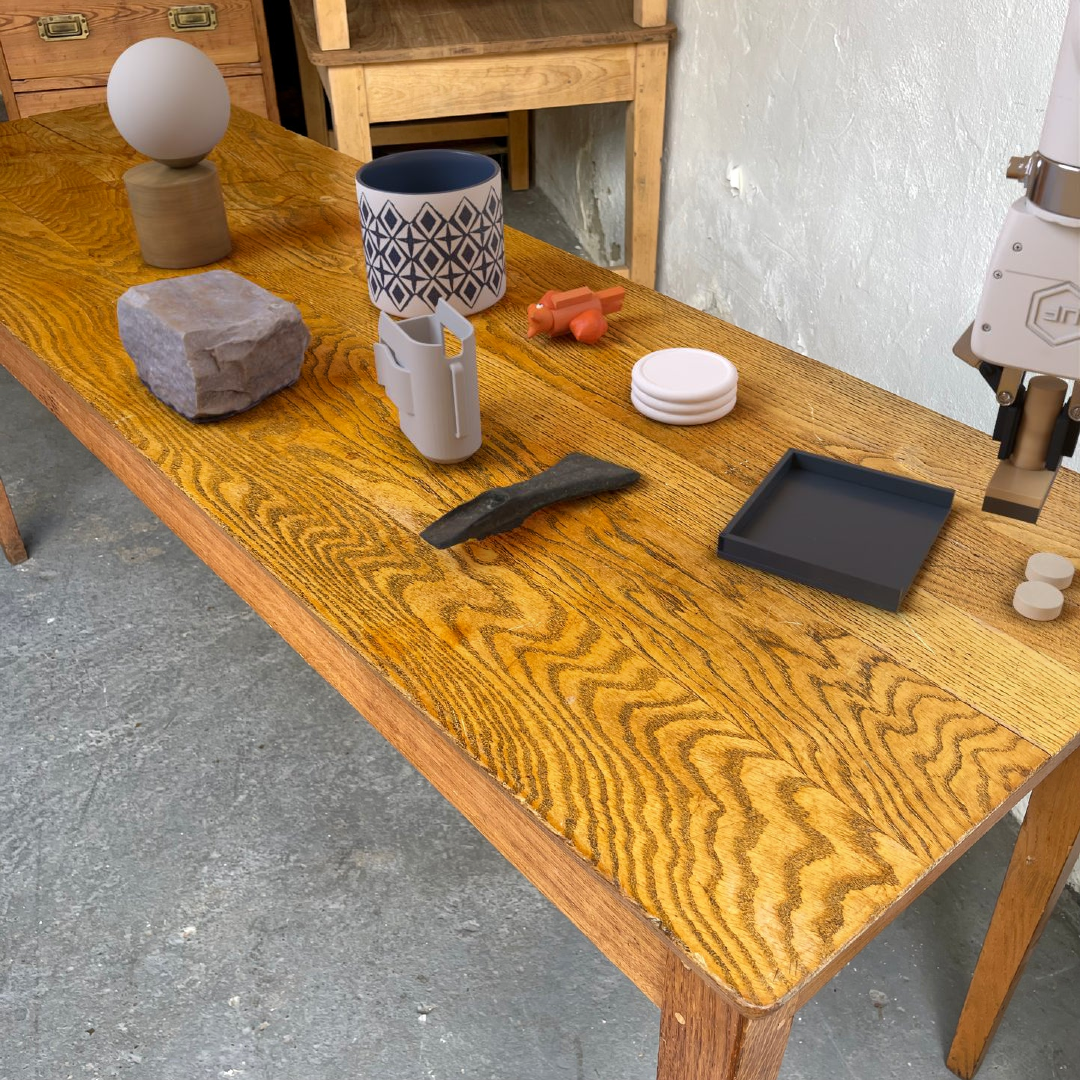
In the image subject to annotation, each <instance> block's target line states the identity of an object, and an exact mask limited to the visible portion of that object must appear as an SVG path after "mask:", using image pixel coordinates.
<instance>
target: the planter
mask: <svg viewBox="0 0 1080 1080" xmlns="http://www.w3.org/2000/svg"><path fill="white" fill-rule="evenodd" d="M354 179H355V187H356V188H355V189H356V198H357V206H358V215H359V223H360V231H361V239H362V247H363V256H364V261H365V262H364V264H365V271H366V279H367V286H368V293H369V299H370V301H371V302H372V304H373V306H375V307H376V308H378V310H380V311H384V312H385V313H386V314H389V315H391V316H394V317H398V318H401V319H405V320H406V319H410V318H414V317H419V316H423V315H433V314H435V312H436V308H437V304H438V300H439V298H443V299H444V300H445V301H446V302H447V303H448V304H449V305H451V306H452V307H453V308H454V309H455V310H456V311H457V312H459V313H460V314H461V315H462V316H463V317H464V318H465V317H467V316H468V317H469V316H471V315H475V314H477V313H480V312H483V311H485V310H486V309H489V308H490V307H492V306H494V305H495V304H497V303H498V302H499V301H500V300H501V299H502V298H503V296H504V295H505V293H506V291H507V272H506V271H507V270H506V249H505V231H504V229H505V228H504V210H503V209H504V207H503V206H504V205H503V189H502V186H503V185H502V173H501V167H500V164H499V163H498V162H497V161H496V160H495V159H493V158H492V157H489V156H487V155H485V154H482V153H478V152H473V151H467V150H461V149H460V150H459V149H443V148H442V149H441V148H440V149H439V148H438V149H419V150H411V151H404V152H397V153H392V154H389V155H385V156H381V157H378V158H376V159H373V160H371V161H369V162H366V163H364V164H363V165H362V166H360V167H359V168H358V170H357V171H356V173H355V175H354Z"/></svg>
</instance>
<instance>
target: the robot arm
mask: <svg viewBox="0 0 1080 1080" xmlns="http://www.w3.org/2000/svg"><path fill="white" fill-rule="evenodd" d="M1056 59H1057V60H1056V64H1055V69H1054V74H1053V78H1052V83H1051V88H1050V93H1049V97H1048V101H1047V106H1046V110H1045V115H1044V119H1043V124H1042V128H1041V133H1040V137H1039V142H1038V146H1037V150H1036V151H1033V152H1032V153H1031V154H1030V155H1024V156H1011V157H1010V159H1009V160H1008V164H1007V168H1006V173H1005V179H1007V180H1014V181H1017V182H1018V184H1023V189H1026V190H1025V195H1022V196H1020V197H1019V198H1017V199H1016V200H1014V201H1013V202H1012V203H1011V205H1010V208H1009V209H1008V211H1007V214H1006V216H1005V218H1004V221H1003V224H1002V225H1001V229H1000V231H999V233H998V237H997V239H996V241H995V246H994V248H993V252H992V255H991V258H990V262H989V265H988V268H987V272H986V275H985V279H984V283H983V286H982V290H981V294H980V298H979V302H978V306H977V310H976V313H975V317H974V318H973V320H972V321H971V323H970V324H969V325H968V326H967V328H966V329H965V330H964V331H963V332H962V334H961V335H960V336H959V338H958V339H957V340H956V342H955V343H954V345H953V346H952V354H953V355H954V357H956V358H958V359H959V360H961V361H962V362H964V363H966V364H967V365H968V366H969V367H972V368H973V369H976V370H978V372H979V374H980V375H981V376H982V378H983V379H984V381H985V382H986V383H987V385H988V386H989V387H990V389H991V390H992V391H993V393H994V394H995V401H996V402H997V403H998V404H999V406H998V410H997V413H996V414H997V415H996V418H995V424H994V428H993V432H992V437H991V440H992V441H994V442H999V443H1000V444H999V448H998V453H997V456H996V459H997V460H999V461H1000V460H1004V461H1005V460H1006V459H1009V458H1010V456H1011V454H1012V450H1013V446H1014V442H1015V438H1016V434H1017V429H1018V425H1019V421H1020V417H1021V413H1022V409H1023V405H1024V400H1025V395H1026V391H1027V387H1026V386H1025V385H1024V383H1025V379H1026V376H1027V373H1028V372H1029V373H1032V374H1033V373H1034V374H1038V375H1047V376H1053V377H1057V378H1060V379H1063V380H1069V381H1074V382H1073V387H1072V391H1071V395H1070V396H1069V397H1068V399H1067V401H1066V402H1064V405H1063V408H1062V411H1061V412H1060V414H1059V417H1058V419H1057V422H1056V426H1055V430H1054V433H1053V437H1052V441H1051V445H1050V449H1049V452H1048V456H1047V460H1046V464H1045V468H1047V470H1048V471H1052V472H1056V469H1057V467H1058V465H1059V462H1060V460H1061V458H1062V456H1063V457H1065V458H1070V459H1072V458H1073V456H1074V454H1075V451H1076V448H1077V444H1078V442H1079V437H1080V0H1069V4H1068V8H1067V14H1066V18H1065V23H1064V27H1063V32H1062V37H1061V42H1060V46H1059V51H1058V55H1057V58H1056Z"/></svg>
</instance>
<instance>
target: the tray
mask: <svg viewBox="0 0 1080 1080" xmlns="http://www.w3.org/2000/svg"><path fill="white" fill-rule="evenodd" d="M955 496H956V489H953V488H949V487H945V486H943V485H938V484H935V483H930V482H926V481H922V480H920V479H919V480H918V479H914V478H911V477H906V476H903V475H899V474H896V473H891V472H887V471H884V470H880V469H876V468H872V467H868V466H864V465H861V464H857V463H853V462H849V461H846V460H845V461H844V460H841V459H838V458H833V457H830V456H826V455H822V454H819V453H814V452H811V451H806V450H803V449H798V448H794V447H791V446H790V447H789V448H788V449H787V450H786V451H785V452H784V454H783V455H782V456H781V457H780V458H779V460H778V461H777V462H776V463H775V465H774V466H773V467H772V468H771V470H770V471H769V472H768V473H767V475H766V476H765V477H764V479H762V481H761V482H760V483H759V485H758V486H757V487H756V488H755V490H754V491H753V492H752V493H751V495H750V496H748V498H747V499H746V500H745V502H744V503H743V504H742V506H741V507H740V508H739V509H738V511H736V513H735V514H734V515H733V517H732V518H731V519H730V520H729V522H728V523H727V524H726V525H725V527H724V528H723V529H722V530H721V531H720V532H719V533H718V536H717V538H718V539H717V549H716V550H717V552H716V557H717V558H720V559H723V560H725V561H726V560H727V561H729V562H732V563H734V564H738V565H742V566H744V567H748V568H751V569H754V570H758V571H761V572H764V573H767V574H770V575H773V576H776V577H780V578H783V579H786V580H789V581H793V582H796V583H799V584H802V585H804V586H805V585H806V586H808V587H812V588H815V589H819V590H821V591H823V592H824V591H825V592H828V593H831V594H834V595H836V596H837V595H838V596H841V597H844V598H847V599H850V600H853V601H856V602H860V603H863V604H866V605H868V606H872V607H875V608H879V609H882V610H886V611H888V612H892V613H895V614H896V613H898V610H899V609H900V607H901V606H902V604H903V601H904V599H905V598H906V596H907V595H908V592H909V590H910V589H911V586H912V584H913V583H914V581H915V579H916V577H917V576H918V573H919V572H920V570H921V568H922V566H923V564H924V562H925V561H926V559H927V557H928V555H929V553H930V552H931V550H932V548H933V546H934V544H935V542H936V540H937V538H938V536H939V535H940V533H941V531H942V529H943V527H944V525H945V523H946V522H947V520H948V518H949V516H950V514H951V512H952V509H953V505H954V501H955Z"/></svg>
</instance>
